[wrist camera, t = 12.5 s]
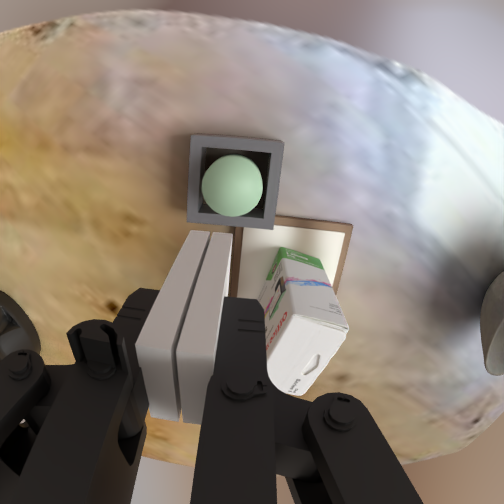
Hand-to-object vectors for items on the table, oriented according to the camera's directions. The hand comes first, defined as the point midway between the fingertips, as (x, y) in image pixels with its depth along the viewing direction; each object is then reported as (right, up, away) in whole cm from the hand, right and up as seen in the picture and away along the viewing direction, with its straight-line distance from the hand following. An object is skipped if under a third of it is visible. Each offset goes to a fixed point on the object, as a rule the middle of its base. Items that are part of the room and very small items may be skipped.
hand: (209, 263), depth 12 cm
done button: (0, +7, +15) cm, 17 cm away
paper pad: (+5, -3, +22) cm, 22 cm away
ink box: (+5, -3, +21) cm, 22 cm away
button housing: (0, +8, +17) cm, 18 cm away
